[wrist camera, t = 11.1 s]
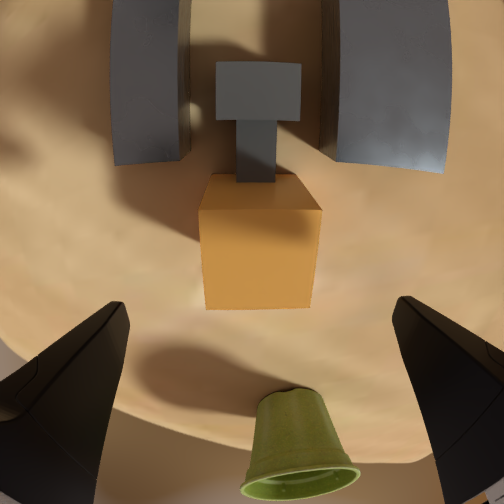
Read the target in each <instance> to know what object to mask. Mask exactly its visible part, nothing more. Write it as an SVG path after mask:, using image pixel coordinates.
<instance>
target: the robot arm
mask: <svg viewBox="0 0 504 504" xmlns="http://www.w3.org/2000/svg"><path fill="white" fill-rule="evenodd" d="M392 323H393V326H394V330H395V334H396V337H397V341H398V344H399V348H400V352H401V355H402V359H403V362H404V364H405V367H406V370H407V373H408V375H409V378H410V381H411V384H412V387H413V389H414V392H415V395H416V398H417V401H418V404H419V407H420V410H421V413H422V417H423V420H424V423H425V426H426V430H427V433H428V436H429V440H430V443H431V447H432V451H433V454H434V458H435V460H436V461H435V462H436V466H437V470H438V474H439V479H440V482H441V487H442V492H443V497H444V501H445V504H464V503H466V502H467V501H469V500H471V499H473V498H475V497H476V496H478V495H480V494H481V493H483V492H486V496H487V498H488V500H487V501H485V502H484V503H482V504H504V352H503V351H501V350H500V349H498V348H496V347H495V346H493V345H491V344H490V343H488V342H487V341H486V342H485V340H483V339H482V338H480V337H479V336H477V335H475V334H474V333H472V332H470V331H469V330H467V329H466V328H464V327H462V326H461V325H459V324H457V323H456V322H454V321H452V320H451V319H449V318H447V317H446V316H444V315H442V314H441V313H439V312H437V311H435V310H434V309H432V308H430V307H429V306H427V305H425V304H424V303H422V302H420V301H418V300H417V299H415V298H413V297H411V296H401V297H399V298H398V300H397V303H396V306H395V309H394V312H393V315H392ZM129 330H130V321H129V318H128V314H127V311H126V307H125V304H124V303H123V302H119V301H112V302H110V303H108V304H107V305H105V306H104V307H103V308H101V309H100V310H98V311H97V312H96V313H94V314H93V315H91V316H90V317H89V318H87V319H86V320H84V321H83V322H82V323H80V324H79V325H77V326H76V327H75V328H73V329H72V330H71V331H69V332H68V333H67V334H65V335H64V336H62V337H61V338H60V339H58V340H57V341H56V342H54V343H53V344H52V345H50V346H49V347H48V348H46V349H45V350H44V351H42V352H41V353H40V354H38V356H36V357H34V358H33V359H32V360H30V361H29V362H28V363H26V364H25V365H24V366H22V367H21V368H20V369H18V370H17V371H15V372H14V373H12V374H11V375H9V376H8V377H6V378H5V379H3V380H2V381H0V504H93V502H94V495H95V489H96V483H97V480H96V479H97V476H98V471H99V465H100V460H101V455H102V450H103V445H104V441H105V436H106V432H107V427H108V423H109V419H110V414H111V410H112V407H113V403H114V399H115V395H116V391H117V387H118V384H119V380H120V376H121V373H122V369H123V364H124V358H125V352H126V346H127V341H128V335H129Z"/></svg>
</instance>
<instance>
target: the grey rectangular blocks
mask: <svg viewBox="0 0 504 504" xmlns="http://www.w3.org/2000/svg"><path fill="white" fill-rule="evenodd" d="M190 18H191V0H113V10H112V23H111V41H110V106H111V126H112V140H113V152H114V163H115V166H119V165H129V164H140V163H153V162H168V161H180V160H181V159H182V158H183V157H184V156H185V155H186V154H187V153H189V152H190V151H191V138H190V81H189V72H190ZM451 96H452V46H451V29H450V18H449V8H448V0H322V91H321V119H320V140H319V151H320V152H321V153H323V154H324V155H326V156H328V157H329V158H331V159H332V160H334V161H335V162H345V163H358V164H369V165H380V166H389V167H398V168H406V169H414V170H422V171H429V172H436V173H442V174H444V168H445V161H446V154H447V146H448V137H449V127H450V114H451Z"/></svg>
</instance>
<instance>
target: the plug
mask: <svg viewBox="0 0 504 504" xmlns="http://www.w3.org/2000/svg"><path fill="white" fill-rule="evenodd" d="M300 104H301V64H298V63H283V62H259V61H225V62H216V120H236V174H212V175H211V178H210V180H209V183H208V185H207V188H206V190H205V193H204V196H203V198H202V201H201V204H200V206H199V209H198V218H199V233H200V247H201V260H202V272H203V283H204V294H205V304H206V310H255V309H294V308H310V303H311V296H312V289H313V282H314V275H315V268H316V260H317V252H318V244H319V235H320V226H321V217H322V209H321V208H320V206H319V205H318V204H317V202H316V201H315V199H314V198H313V197H312V195H311V194H310V193H309V191H308V190H307V188H306V187H305V186H304V184H303V183H302V182H301V180H300V179H299V178H298V176H297V175H296V174H276V142H277V120H284V121H300Z"/></svg>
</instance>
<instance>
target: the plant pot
mask: <svg viewBox="0 0 504 504" xmlns="http://www.w3.org/2000/svg"><path fill="white" fill-rule="evenodd" d="M359 476H360V470H359V468H358V467H356V466H354V465H353V464H352V462H351V460H350V458H349V456H348V455H347V454H346V453H345V452H344V450H343V447H342V445H341V443H340V440H339V438H338V435H337V433H336V431H335V428H334V426H333V423H332V421H331V418H330V416H329V413H328V410H327V408H326V406H325V403H324V401H323V398H322V397H321V395H320V394H318V393H317V392H315V391H312V390H308V389H301V388H296V389H293V390H292V391H288V392H275V393H273V394H270V395H268V396H267V397H265V398H264V399H263V400H262V401H261V402H260V403H259V405H258V408H257V416H256V424H255V433H254V441H253V448H252V454H251V461H250V468H249V469H248V470H247V473H246V479H245V482H244V483H243V484H242V485H241V486H240V492H241V493H242V494H243V495H245V496H247V497H250V498H254V499H259V500H268V501H269V500H270V501H287V500H298V499H306V498H310V497H316V496H320V495H324V494H327V493H331V492H334V491H336V490H339V489H342V488H344V487H346V486H348V485H350V484H352V483H353V482H355V481H356V480H357V479H358V478H359Z"/></svg>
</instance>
